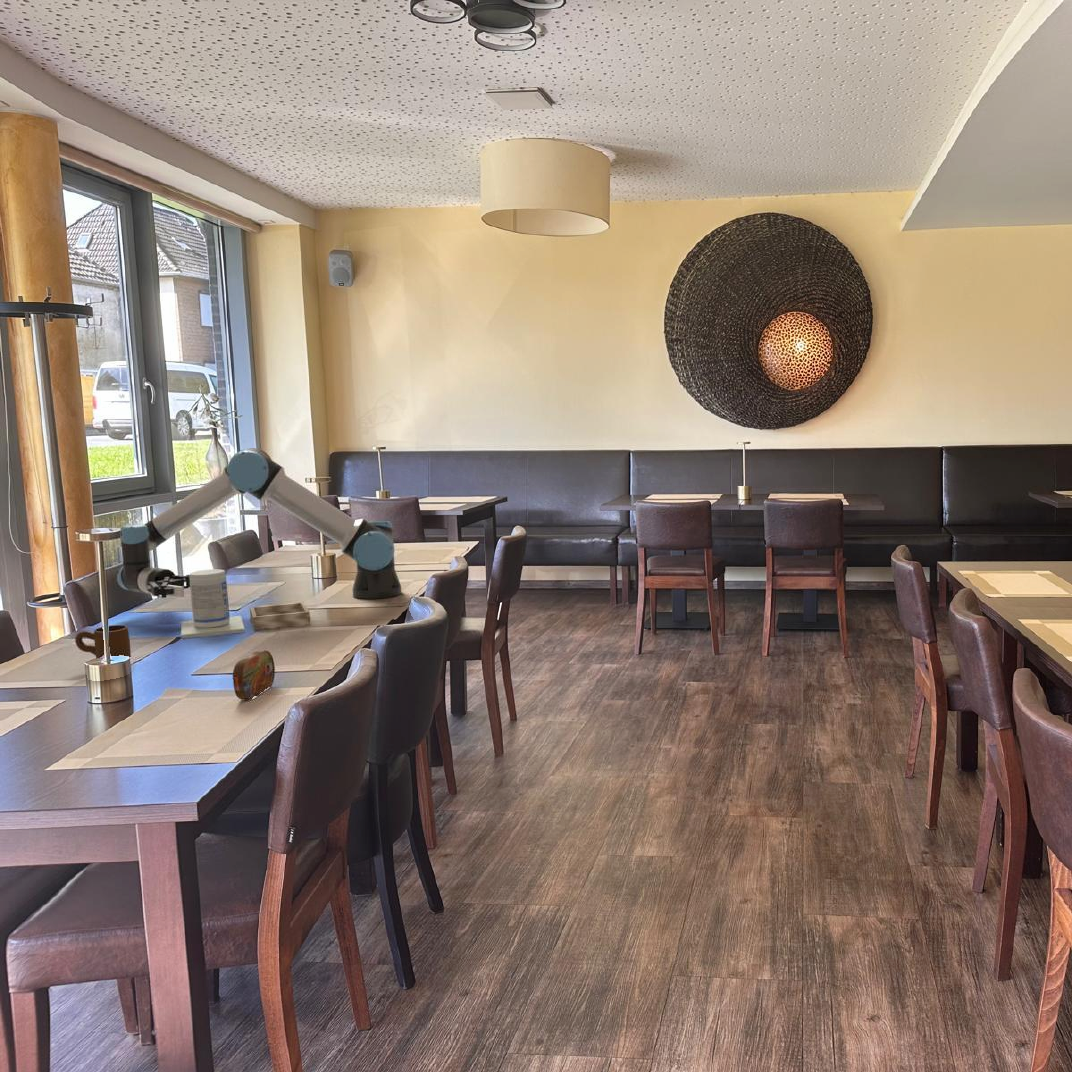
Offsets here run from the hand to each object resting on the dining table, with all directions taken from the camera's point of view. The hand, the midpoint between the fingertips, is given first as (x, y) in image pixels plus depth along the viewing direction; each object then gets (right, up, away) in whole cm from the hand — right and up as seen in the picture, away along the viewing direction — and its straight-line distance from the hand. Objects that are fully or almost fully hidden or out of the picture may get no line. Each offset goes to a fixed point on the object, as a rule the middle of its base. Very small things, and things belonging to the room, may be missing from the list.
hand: (204, 587), depth 279 cm
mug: (-11, -17, -38) cm, 43 cm away
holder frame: (+19, -10, +7) cm, 22 cm away
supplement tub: (+2, -10, +1) cm, 11 cm away
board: (+2, -11, +1) cm, 11 cm away
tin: (+31, -19, -64) cm, 73 cm away
